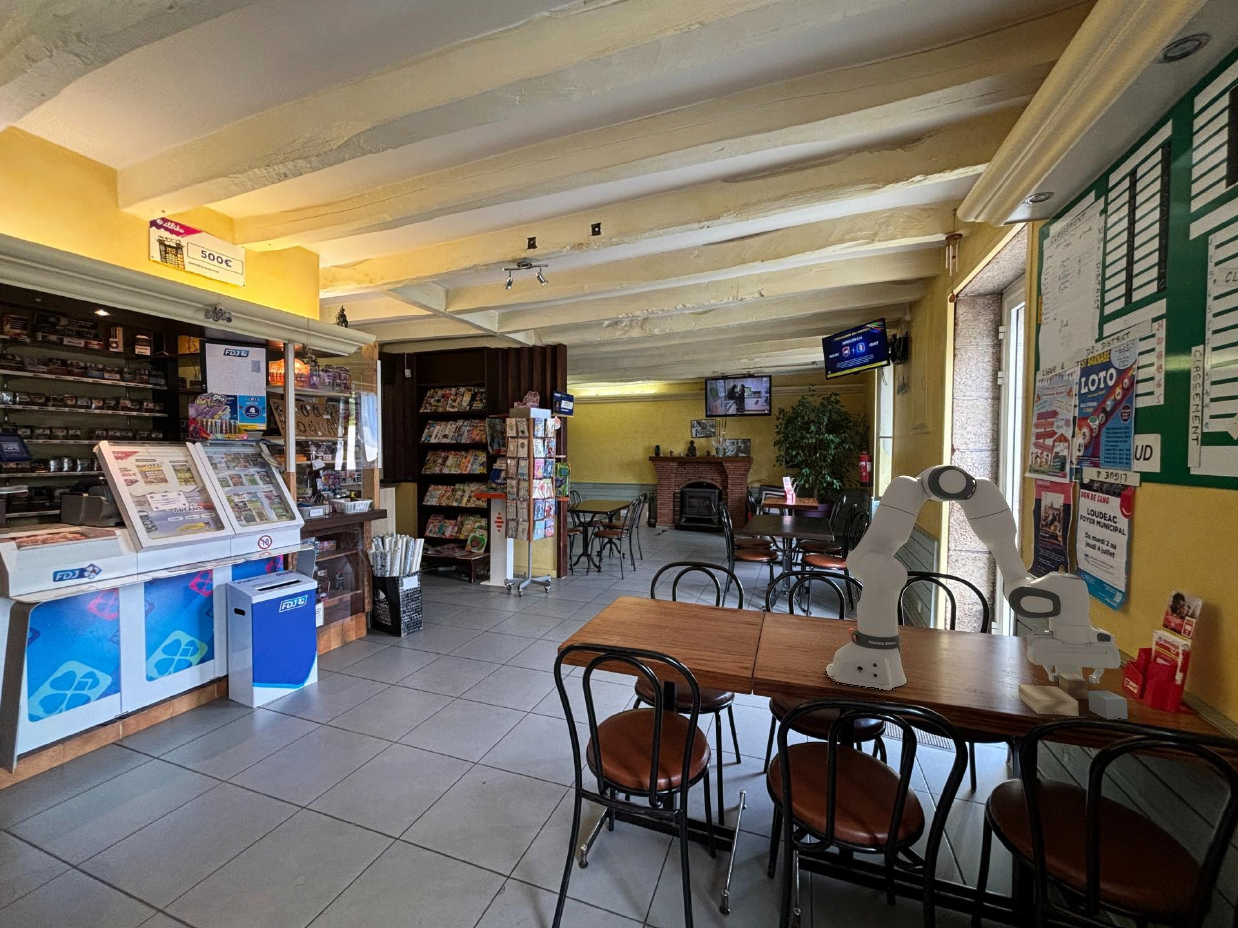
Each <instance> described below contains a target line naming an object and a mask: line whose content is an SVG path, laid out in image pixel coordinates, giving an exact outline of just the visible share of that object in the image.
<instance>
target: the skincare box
mask: <svg viewBox="0 0 1238 928" xmlns="http://www.w3.org/2000/svg"><path fill="white" fill-rule="evenodd" d="M1054 669H1055V670H1054V671H1055V672H1054V673H1055V674H1056V675H1058V673H1060V674H1077V675H1079V676H1081V677H1082V678H1084V677H1083V667H1070V666H1054Z"/></svg>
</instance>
